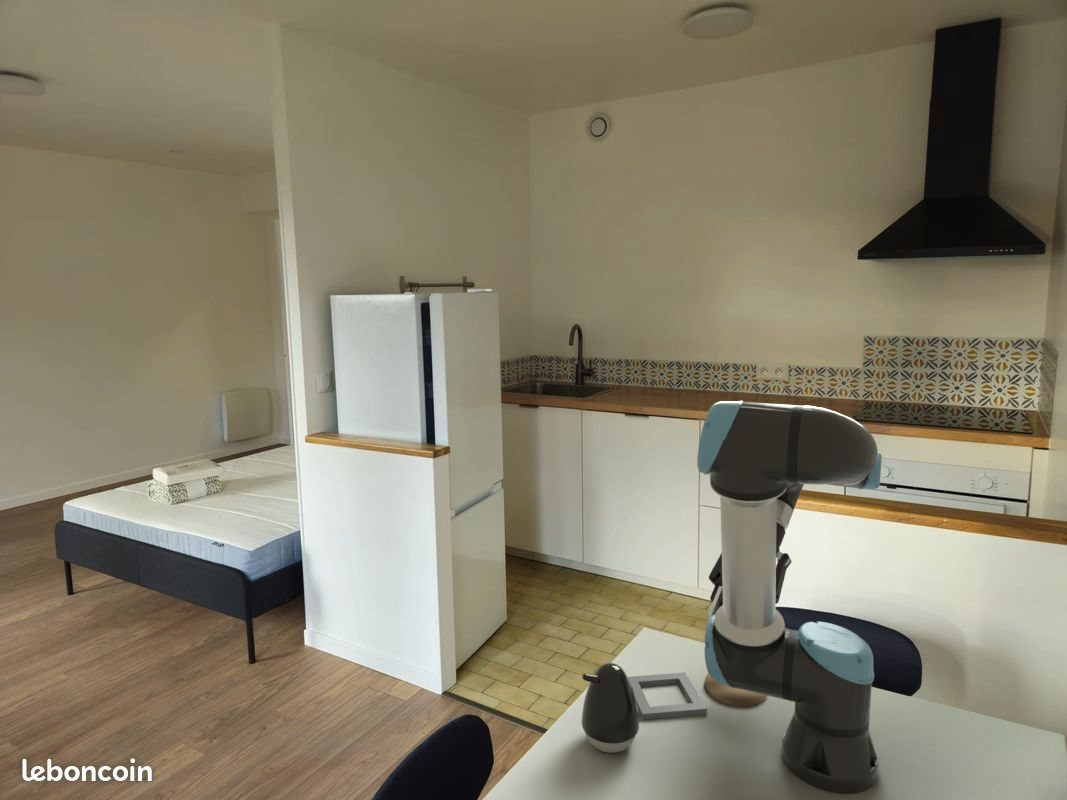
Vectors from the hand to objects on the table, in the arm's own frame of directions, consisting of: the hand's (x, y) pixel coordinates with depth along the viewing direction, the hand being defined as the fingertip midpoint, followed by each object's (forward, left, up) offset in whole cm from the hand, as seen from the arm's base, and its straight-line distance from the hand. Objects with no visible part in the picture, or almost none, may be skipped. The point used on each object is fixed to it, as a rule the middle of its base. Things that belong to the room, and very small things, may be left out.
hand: (728, 624), depth 136 cm
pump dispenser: (-11, +26, -16) cm, 32 cm away
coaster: (+2, -3, -15) cm, 16 cm away
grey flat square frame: (+1, +12, -15) cm, 20 cm away
